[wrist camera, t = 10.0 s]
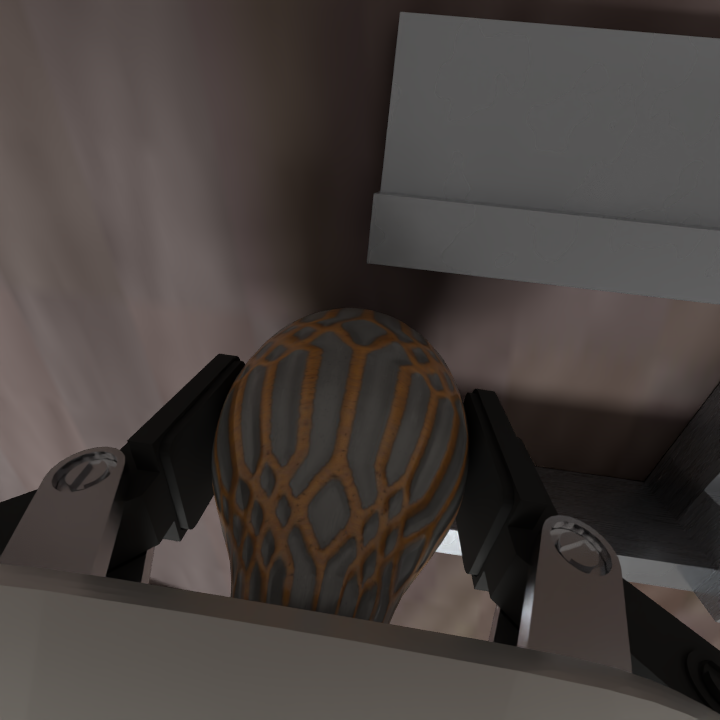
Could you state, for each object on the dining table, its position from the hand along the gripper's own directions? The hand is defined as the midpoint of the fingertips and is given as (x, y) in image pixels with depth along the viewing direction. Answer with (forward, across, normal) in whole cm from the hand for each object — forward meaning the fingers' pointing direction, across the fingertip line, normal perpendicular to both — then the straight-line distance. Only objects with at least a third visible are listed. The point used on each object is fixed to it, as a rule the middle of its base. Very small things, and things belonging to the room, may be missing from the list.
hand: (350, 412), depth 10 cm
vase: (+3, 0, 0) cm, 3 cm away
